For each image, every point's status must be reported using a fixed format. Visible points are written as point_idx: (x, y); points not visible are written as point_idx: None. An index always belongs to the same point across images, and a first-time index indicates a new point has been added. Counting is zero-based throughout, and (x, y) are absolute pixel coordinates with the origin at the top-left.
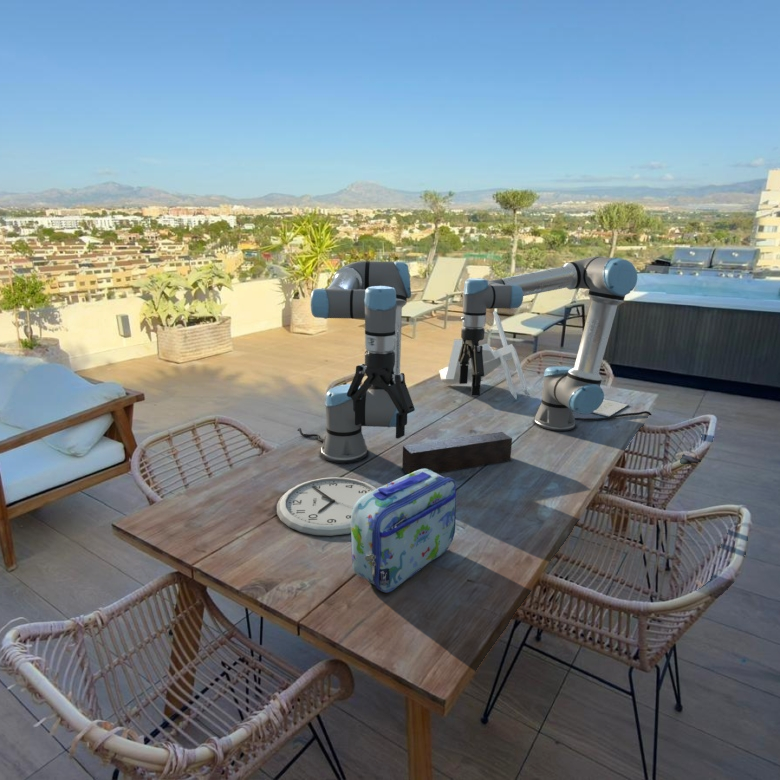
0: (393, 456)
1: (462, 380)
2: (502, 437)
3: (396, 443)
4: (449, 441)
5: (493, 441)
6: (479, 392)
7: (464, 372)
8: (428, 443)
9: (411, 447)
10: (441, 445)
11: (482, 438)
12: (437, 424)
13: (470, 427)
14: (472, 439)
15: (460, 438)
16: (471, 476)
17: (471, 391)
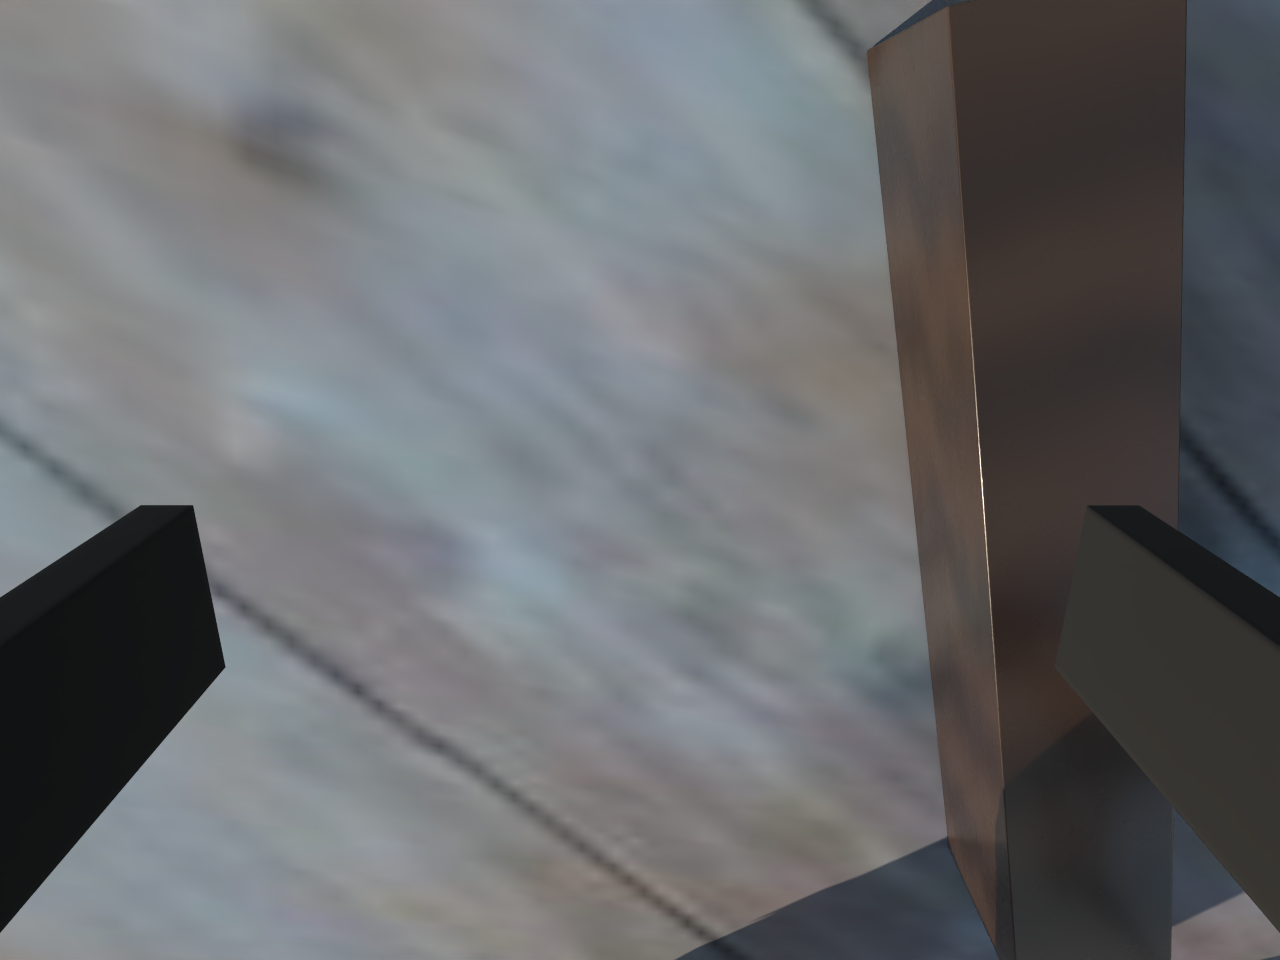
0: (748, 866)
1: (170, 656)
2: (1122, 79)
3: (531, 820)
4: (1045, 673)
5: (1182, 237)
6: (1178, 543)
7: (12, 764)
8: (1032, 837)
9: (1068, 957)
10: (1110, 756)
11: (1075, 339)
12: (107, 447)
13: (162, 130)
14: (1066, 453)
15: (1007, 560)
16: (1199, 460)
17: (1111, 718)
